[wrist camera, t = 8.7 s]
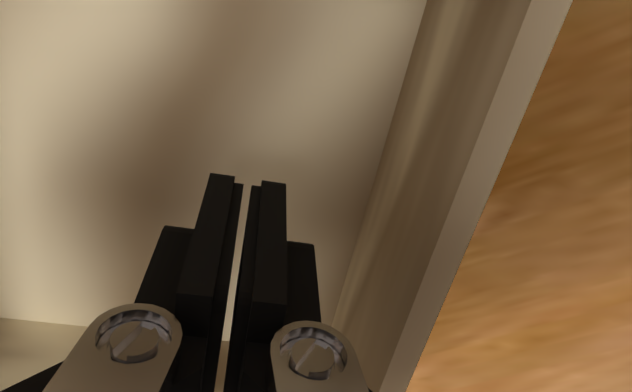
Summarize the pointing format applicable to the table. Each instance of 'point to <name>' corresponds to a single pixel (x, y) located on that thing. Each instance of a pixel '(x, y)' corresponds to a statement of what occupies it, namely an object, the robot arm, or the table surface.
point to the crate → (255, 151)
